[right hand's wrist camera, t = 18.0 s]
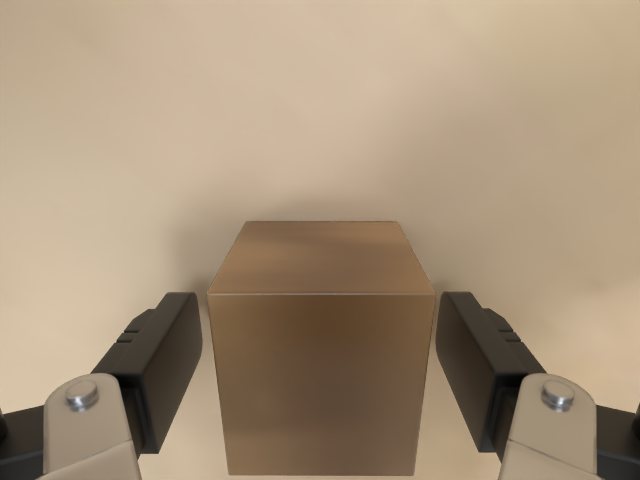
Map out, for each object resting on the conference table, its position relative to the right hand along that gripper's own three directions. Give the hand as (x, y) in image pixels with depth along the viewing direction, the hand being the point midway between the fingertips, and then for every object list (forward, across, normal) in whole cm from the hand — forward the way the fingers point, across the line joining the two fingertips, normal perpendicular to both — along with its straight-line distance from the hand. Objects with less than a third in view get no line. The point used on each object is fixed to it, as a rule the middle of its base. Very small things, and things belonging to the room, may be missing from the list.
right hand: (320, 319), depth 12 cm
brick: (+1, 0, 0) cm, 1 cm away
